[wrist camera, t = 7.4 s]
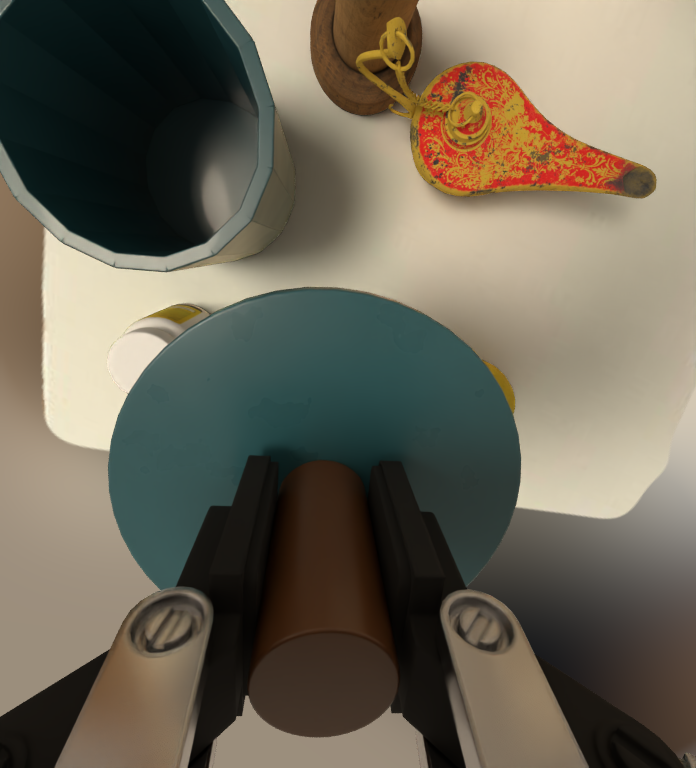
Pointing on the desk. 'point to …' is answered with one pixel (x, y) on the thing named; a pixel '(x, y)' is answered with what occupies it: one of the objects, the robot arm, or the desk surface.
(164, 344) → the supplement bottle
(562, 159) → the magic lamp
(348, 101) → the mortar and pestle
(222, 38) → the pot
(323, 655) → the lid
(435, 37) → the desk surface
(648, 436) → the desk surface
